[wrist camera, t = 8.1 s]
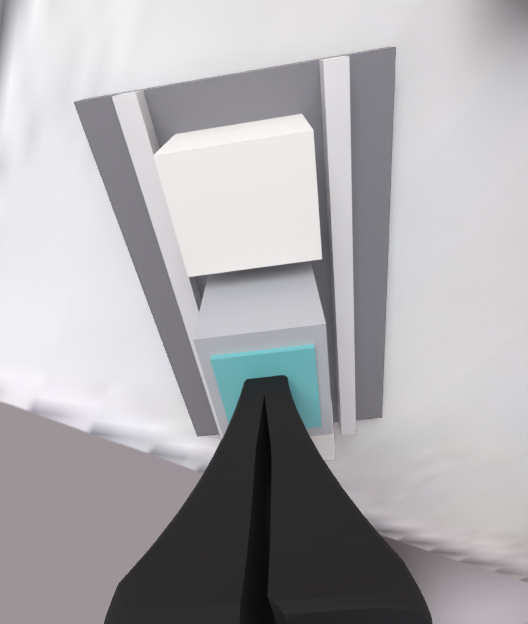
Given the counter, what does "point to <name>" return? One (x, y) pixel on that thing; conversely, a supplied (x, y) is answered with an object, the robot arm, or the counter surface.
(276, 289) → the module
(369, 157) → the rail board
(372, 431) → the counter surface
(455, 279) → the counter surface
